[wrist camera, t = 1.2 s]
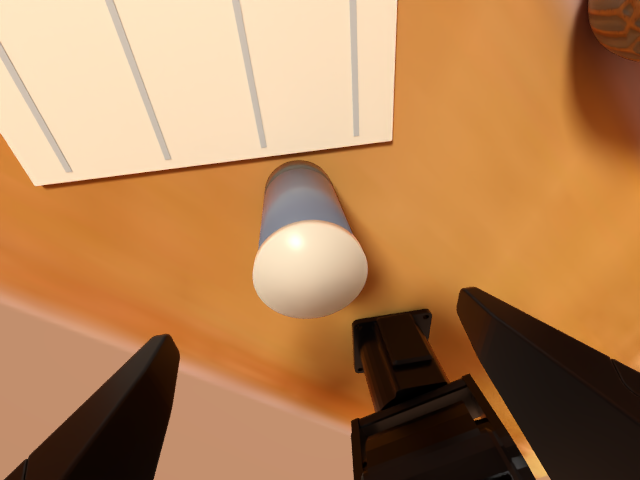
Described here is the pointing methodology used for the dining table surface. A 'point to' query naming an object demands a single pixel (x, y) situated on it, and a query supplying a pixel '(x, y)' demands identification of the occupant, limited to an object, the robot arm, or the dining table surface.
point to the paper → (190, 81)
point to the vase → (617, 26)
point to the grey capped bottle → (306, 246)
